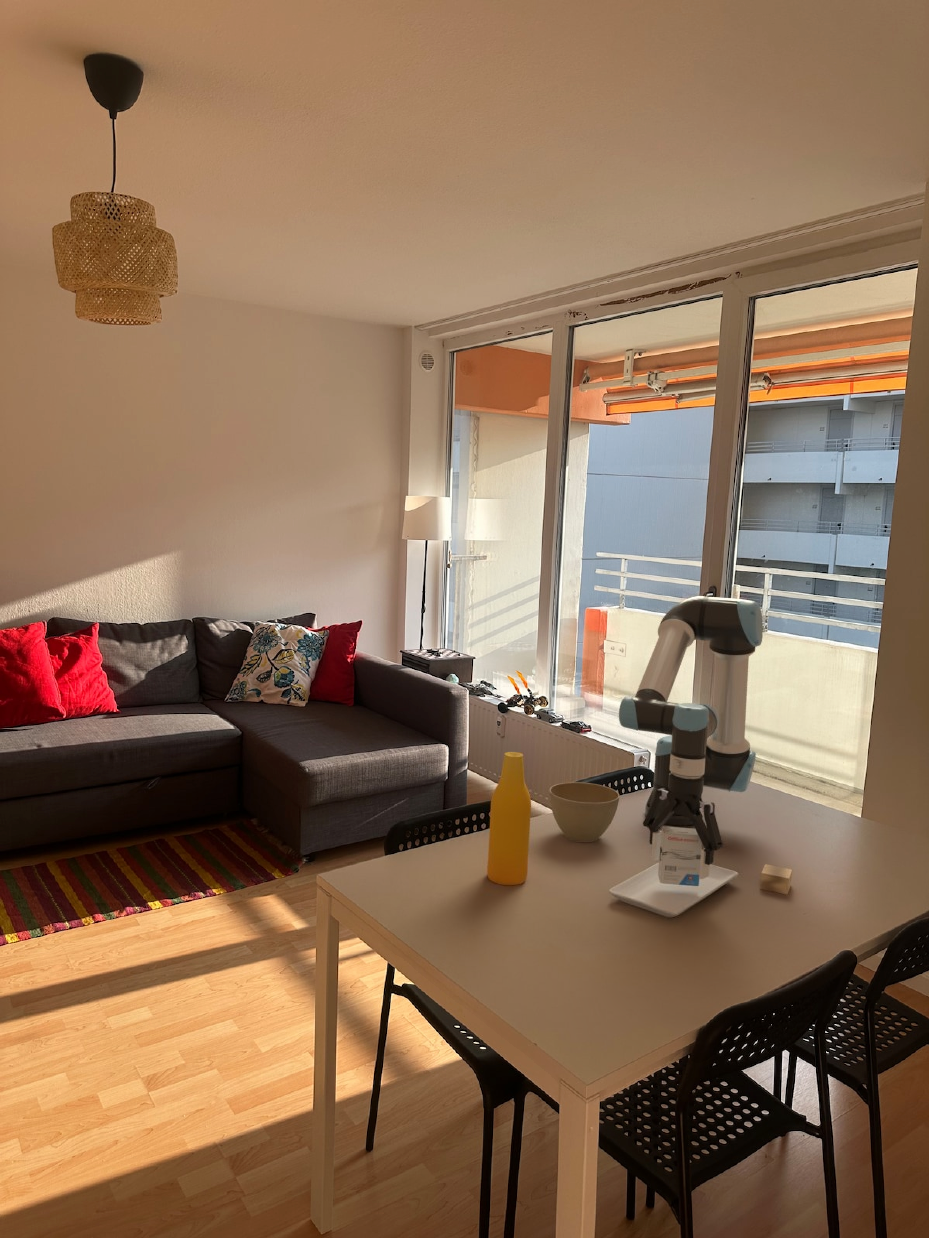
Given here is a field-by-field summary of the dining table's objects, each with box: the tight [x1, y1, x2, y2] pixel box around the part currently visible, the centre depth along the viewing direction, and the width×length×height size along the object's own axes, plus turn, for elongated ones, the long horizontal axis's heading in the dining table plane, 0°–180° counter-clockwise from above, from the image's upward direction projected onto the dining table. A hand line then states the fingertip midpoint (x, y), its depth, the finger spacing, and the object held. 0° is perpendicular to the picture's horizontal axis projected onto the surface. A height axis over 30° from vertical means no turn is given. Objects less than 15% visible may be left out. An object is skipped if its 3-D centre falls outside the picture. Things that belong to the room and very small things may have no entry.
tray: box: [608, 862, 739, 918], centre depth 200 cm, size 17×32×4 cm, turn 140°
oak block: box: [760, 863, 793, 895], centre depth 205 cm, size 6×6×4 cm
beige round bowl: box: [548, 781, 620, 843], centre depth 232 cm, size 18×18×12 cm
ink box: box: [658, 825, 703, 886], centre depth 198 cm, size 8×5×12 cm, turn 85°
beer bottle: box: [486, 751, 532, 886], centre depth 202 cm, size 9×9×29 cm
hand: (679, 868), depth 199 cm, fingers open, 12 cm apart
